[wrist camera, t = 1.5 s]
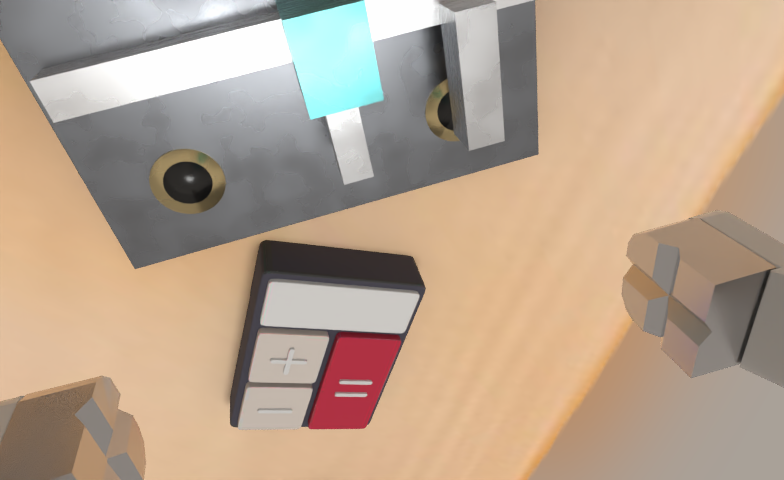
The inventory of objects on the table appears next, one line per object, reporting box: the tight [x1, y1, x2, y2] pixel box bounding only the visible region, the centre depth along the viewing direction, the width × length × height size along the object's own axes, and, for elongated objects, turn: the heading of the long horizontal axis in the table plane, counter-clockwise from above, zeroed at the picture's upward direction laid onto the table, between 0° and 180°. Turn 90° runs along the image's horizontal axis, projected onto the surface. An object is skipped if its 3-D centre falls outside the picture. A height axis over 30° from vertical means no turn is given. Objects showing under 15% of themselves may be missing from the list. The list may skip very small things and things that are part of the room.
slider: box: [275, 0, 384, 185], centre depth 26 cm, size 3×9×7 cm, turn 10°
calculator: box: [230, 240, 426, 430], centre depth 39 cm, size 11×4×15 cm
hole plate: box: [0, 0, 538, 269], centre depth 28 cm, size 26×16×6 cm, turn 100°
